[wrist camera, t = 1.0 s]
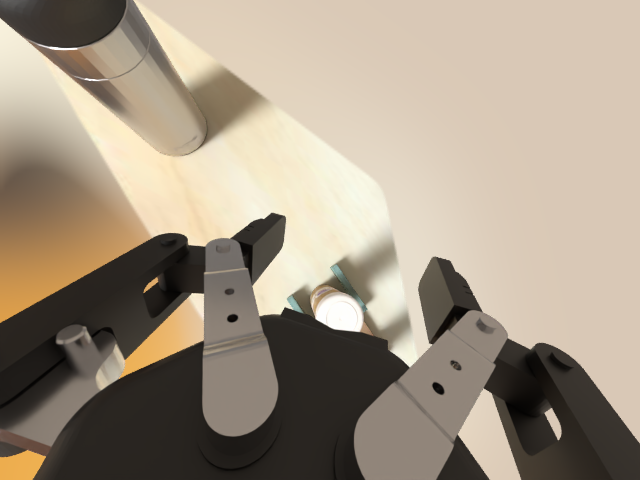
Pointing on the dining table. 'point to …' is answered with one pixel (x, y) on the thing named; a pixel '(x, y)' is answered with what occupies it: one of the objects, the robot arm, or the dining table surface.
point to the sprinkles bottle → (336, 309)
